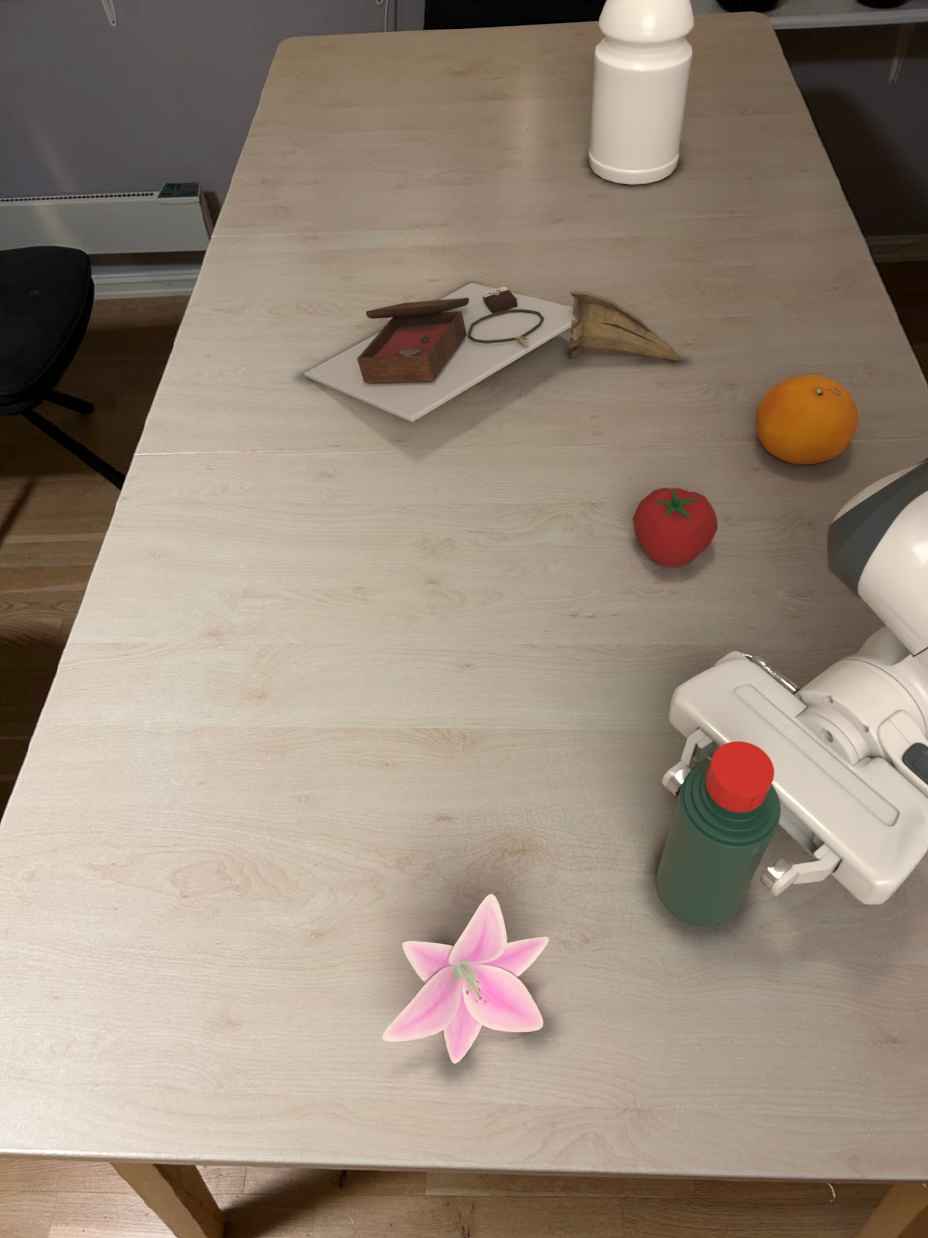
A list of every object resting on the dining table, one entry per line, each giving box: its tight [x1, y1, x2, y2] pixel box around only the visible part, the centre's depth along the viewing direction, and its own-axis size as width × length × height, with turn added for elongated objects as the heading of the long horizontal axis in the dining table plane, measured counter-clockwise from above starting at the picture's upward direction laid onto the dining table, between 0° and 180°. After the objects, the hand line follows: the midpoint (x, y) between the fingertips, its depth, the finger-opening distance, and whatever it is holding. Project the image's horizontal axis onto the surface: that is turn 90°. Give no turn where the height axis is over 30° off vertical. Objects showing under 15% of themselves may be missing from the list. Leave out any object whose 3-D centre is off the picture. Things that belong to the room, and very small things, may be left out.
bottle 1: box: [588, 0, 695, 185], centre depth 135 cm, size 14×14×28 cm
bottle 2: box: [655, 760, 781, 928], centre depth 66 cm, size 7×7×18 cm
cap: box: [705, 741, 774, 812], centre depth 60 cm, size 4×4×2 cm
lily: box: [381, 893, 550, 1065], centre depth 66 cm, size 12×12×10 cm
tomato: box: [632, 487, 718, 568], centre depth 93 cm, size 8×8×7 cm
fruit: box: [755, 373, 859, 465], centre depth 101 cm, size 10×10×8 cm
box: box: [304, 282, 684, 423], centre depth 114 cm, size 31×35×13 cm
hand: (717, 834), depth 65 cm, fingers open, 8 cm apart
